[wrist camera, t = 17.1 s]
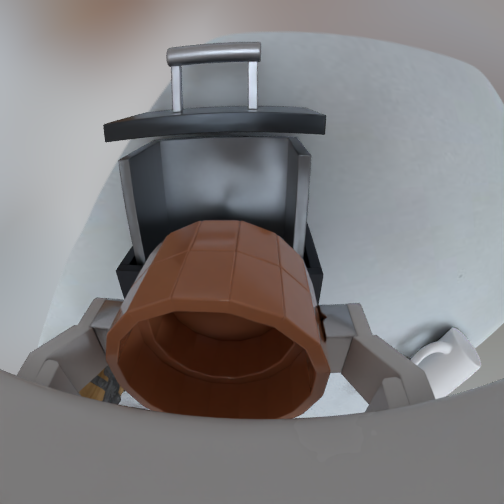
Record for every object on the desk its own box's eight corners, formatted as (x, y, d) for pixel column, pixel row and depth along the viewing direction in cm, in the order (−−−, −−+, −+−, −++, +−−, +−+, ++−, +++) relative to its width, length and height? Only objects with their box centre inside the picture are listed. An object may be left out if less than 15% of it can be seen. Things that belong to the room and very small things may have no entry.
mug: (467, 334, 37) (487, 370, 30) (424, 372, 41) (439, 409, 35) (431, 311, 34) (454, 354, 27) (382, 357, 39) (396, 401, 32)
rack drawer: (143, 61, 20) (99, 54, 13) (306, 53, 20) (327, 38, 13) (162, 249, 29) (136, 299, 22) (297, 251, 29) (307, 303, 22)
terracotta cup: (135, 215, 10) (73, 291, 6) (317, 213, 10) (351, 298, 6) (164, 340, 13) (140, 421, 9) (301, 344, 13) (311, 430, 9)
